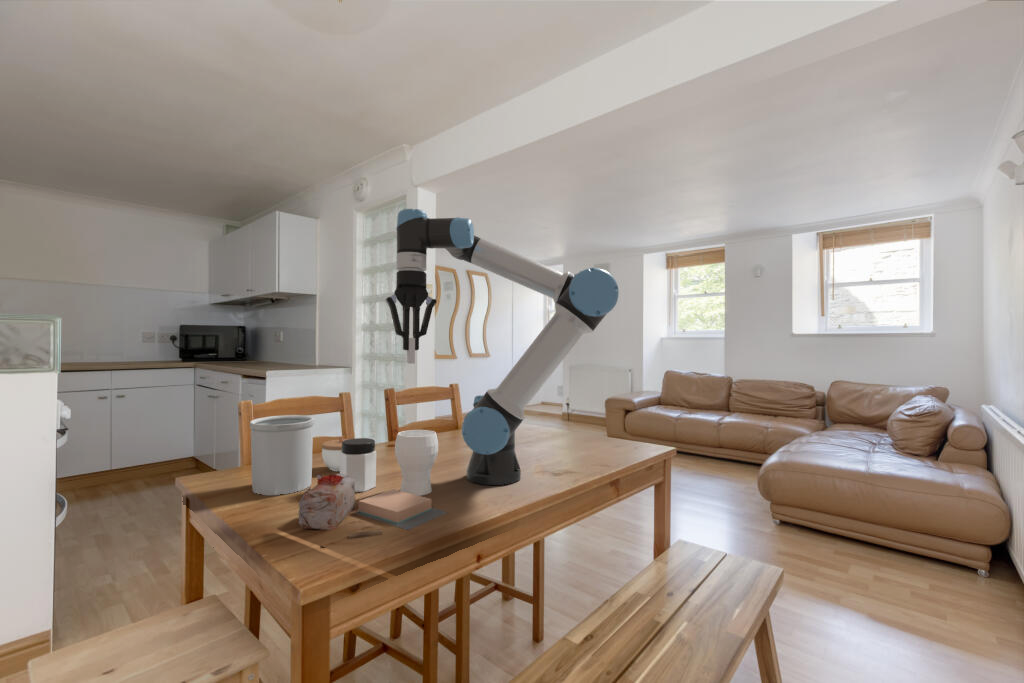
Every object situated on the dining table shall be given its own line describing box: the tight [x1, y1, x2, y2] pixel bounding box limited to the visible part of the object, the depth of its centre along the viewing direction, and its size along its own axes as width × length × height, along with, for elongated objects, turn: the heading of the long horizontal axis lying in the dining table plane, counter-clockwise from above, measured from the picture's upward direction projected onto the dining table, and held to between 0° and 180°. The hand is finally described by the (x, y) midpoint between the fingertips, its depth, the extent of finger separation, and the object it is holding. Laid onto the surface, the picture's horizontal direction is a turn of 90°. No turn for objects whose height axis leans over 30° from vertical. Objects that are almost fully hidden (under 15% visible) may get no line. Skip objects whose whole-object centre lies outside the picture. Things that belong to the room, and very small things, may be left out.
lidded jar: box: [321, 436, 349, 472], centre depth 139 cm, size 11×11×9 cm
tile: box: [357, 488, 432, 524], centre depth 103 cm, size 2×10×12 cm
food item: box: [298, 473, 356, 531], centre depth 98 cm, size 14×8×10 cm, turn 1°
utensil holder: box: [249, 414, 315, 496], centre depth 121 cm, size 15×15×18 cm
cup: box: [394, 429, 439, 496], centre depth 117 cm, size 11×11×15 cm
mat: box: [354, 507, 449, 531], centre depth 102 cm, size 16×12×1 cm
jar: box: [339, 437, 377, 493], centre depth 121 cm, size 9×8×12 cm
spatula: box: [319, 528, 383, 550], centre depth 89 cm, size 11×4×1 cm, turn 113°
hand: (410, 363), depth 120 cm, fingers closed
